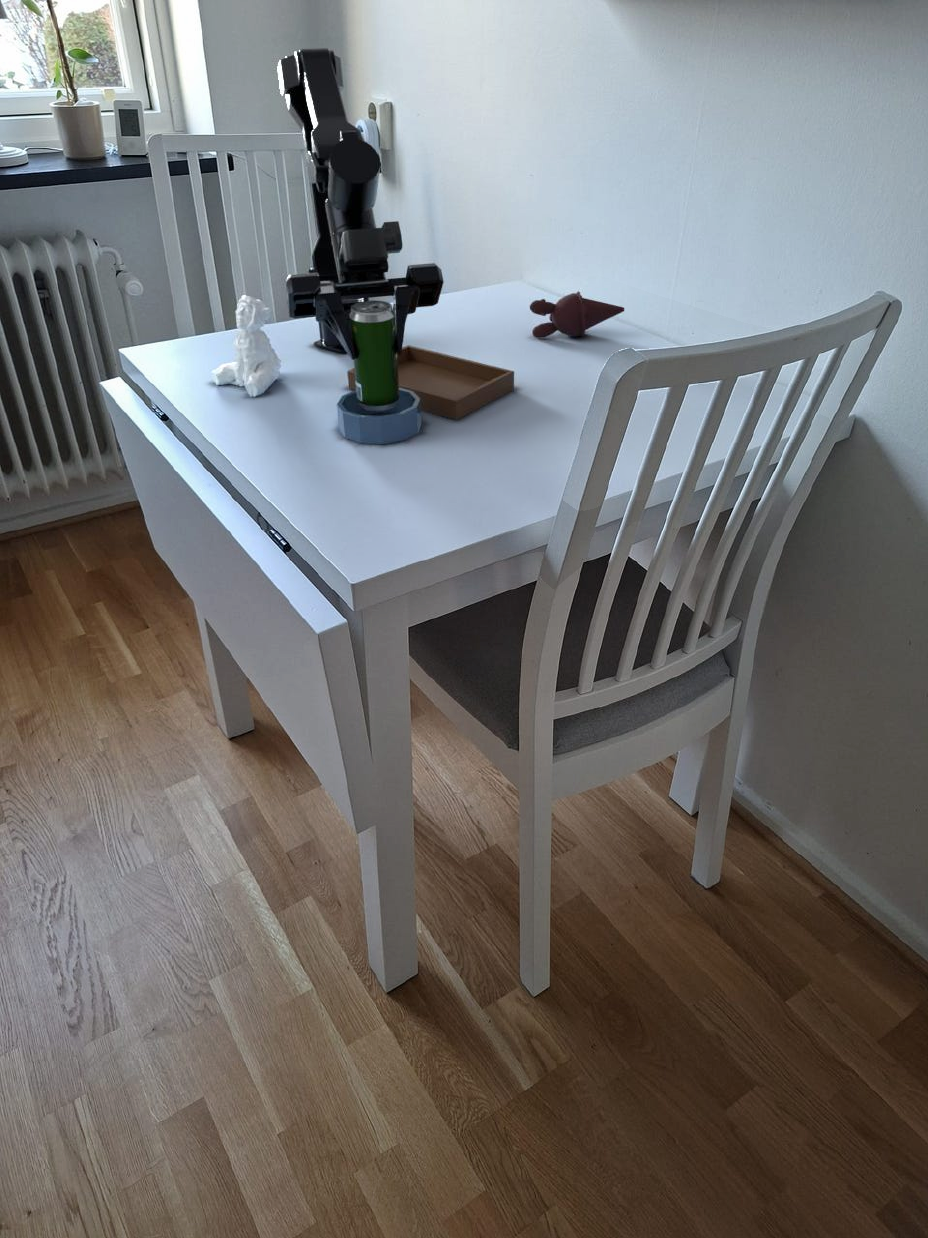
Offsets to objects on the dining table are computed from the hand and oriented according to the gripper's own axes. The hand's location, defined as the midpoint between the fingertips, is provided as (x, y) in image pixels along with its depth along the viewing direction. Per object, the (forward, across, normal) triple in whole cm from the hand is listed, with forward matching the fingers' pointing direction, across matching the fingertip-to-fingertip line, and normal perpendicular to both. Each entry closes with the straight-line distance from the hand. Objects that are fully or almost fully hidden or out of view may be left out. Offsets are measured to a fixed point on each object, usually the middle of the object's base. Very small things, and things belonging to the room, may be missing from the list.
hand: (376, 355), depth 105 cm
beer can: (+4, 0, +6) cm, 7 cm away
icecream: (-13, +37, +27) cm, 47 cm away
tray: (-2, +9, +16) cm, 18 cm away
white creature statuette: (-8, -14, +23) cm, 28 cm away
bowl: (+6, 0, +8) cm, 10 cm away
